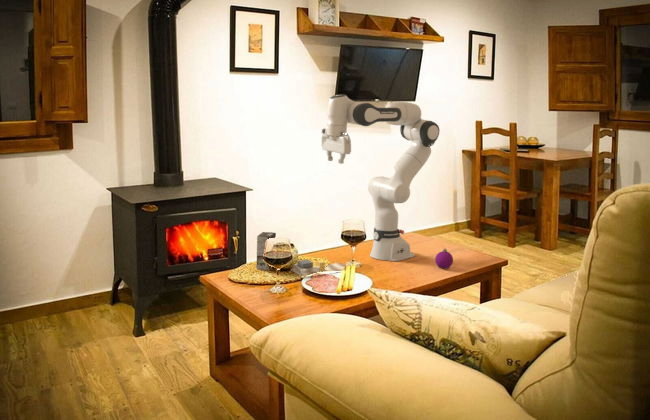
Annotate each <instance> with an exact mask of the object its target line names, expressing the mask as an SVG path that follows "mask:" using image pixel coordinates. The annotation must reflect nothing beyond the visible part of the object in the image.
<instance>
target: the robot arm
mask: <svg viewBox="0 0 650 420" xmlns="http://www.w3.org/2000/svg"><path fill="white" fill-rule="evenodd" d="M379 122H380V123H382V122H385V123H386V124H388V125H392V126H400V127H399V128H400V129H399V131H400V135H401V137H402V138H403V139H405V140H407V141H411V143H410V145H409V148H408V149H407V150H406V151H405V152H404V153H403V154H402V156H401V157H400V158H399V159H398V161H397V162H396V163H395V164H394V167H393V168H394V173H393V175H392V176H391V177H385V176H374V177H372V178H371V179H370V180H369V182H368V186H367V190H368V192H369V194H370V196H371V197H372V201H373V205H374V212H375V217H374V218H375V219H374V220H375V221H374V223H375V224H374V228H373V243H372V248H371V252H370V253H369V256H370V257H371V258H373V259H376V260H381V261H390V262H398V261H402V260H403V261H404V260H406V259H411V258H414V257H416V256H415V253H413V252H412V251H411V245H410V243H409V242H407V240H405V239H404V238H403V237H402V236H401V235H404V234H405V230H403V229H399V228H398V227H399V226H398V225H399V212H398V210H397V208H396V207H395V206H396V205H395V204H405V203H406V202H407V201H408V200H409V198H410V195H411V189H410V186H411V183H412V181H413V179H415V177H416V175H418V173H419V172H420V171H421V169H422V168H423V167H424V165H426V163H427V161H429V157H430V156H431V154H432V149H431V147H432V146H433V145H435V142H437V140H438V138H439V135H440V127H439V125H438V124H437V123H436V122H434V121H432V120H428V119H427V120H426V119H422V110H421V107H419V105H418V104H415V103H412V102H407V101H393V102H388V103H387V104H386V105H385V106H384V107H377V106H375V105H374V104H371V103H368V102H356V101H354V100H352V99H351V98H349V97H348V96H347V95H346V94H334V95H332V96H330V97H329V100H328V105H327V124H326V125H327V126H326V127H324V128H322V129H321V134H322V136H321V150H324V151H326V156H327V161H328V162H329V161H330V162H332V161H333V160H334V157H333V155H332V154H333V153H337V154H339V156H340V157H339V159H338V164H339V165H340V164H341V165H342V164H344V163H345V161H344V160H345V158H346V155H350V154H351V152H352V141H351V138H350V135H349V134H348V132H347V131H348V130H347V128H348V124H351V125H356V126H357V125H359V126H362V127H369V126H372V125H373V124H376V123H379Z"/></svg>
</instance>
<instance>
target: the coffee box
mask: <svg viewBox="0 0 650 420" xmlns="http://www.w3.org/2000/svg"><path fill="white" fill-rule="evenodd" d="M276 236H277V233H276V232H271V231H270V232H269V231H262V232H261V233H260V234H258V235H257V237H256V270H261V271H270V270H272V269H273V268H272V267H271V266H269V265H268V264H267V263H265V262H264V261H263V254H264V249H265V242H266V240H267V239H269V238H275V237H276ZM271 268H272V269H271Z"/></svg>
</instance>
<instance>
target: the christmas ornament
mask: <svg viewBox="0 0 650 420" xmlns="http://www.w3.org/2000/svg"><path fill="white" fill-rule="evenodd" d="M434 260H435V264H436V266H438V268H440V269H443V268H446V269H449V268H450V267H451V266H452V265H453V262H454V258H453V255H452V254H451V253H450V252H449V251H448V249H447V248H446V247H444V248H443V250H442V251H439V252H438V253H437V254H436V256H435V259H434Z"/></svg>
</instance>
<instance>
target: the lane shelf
mask: <svg viewBox="0 0 650 420" xmlns="http://www.w3.org/2000/svg"><path fill="white" fill-rule="evenodd" d="M328 264H329V265H328V266H327V267H326V268H325V271H341V270H343V269H344V268H345V266H346V265H345V264H342V263H341V262H335V263H328ZM289 270H290V271H291V272H293V273H294V274H295V275H298V274H299V275H300V276H299V275H298V276H299V277H301V276H306V275H310V274H313V273H317V272H320V267H313V268H305V269H302V268H300V267H298V266H297V263H295V264H292V267H291V269H289ZM302 278H303V279H305V278H304V277H302Z"/></svg>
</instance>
